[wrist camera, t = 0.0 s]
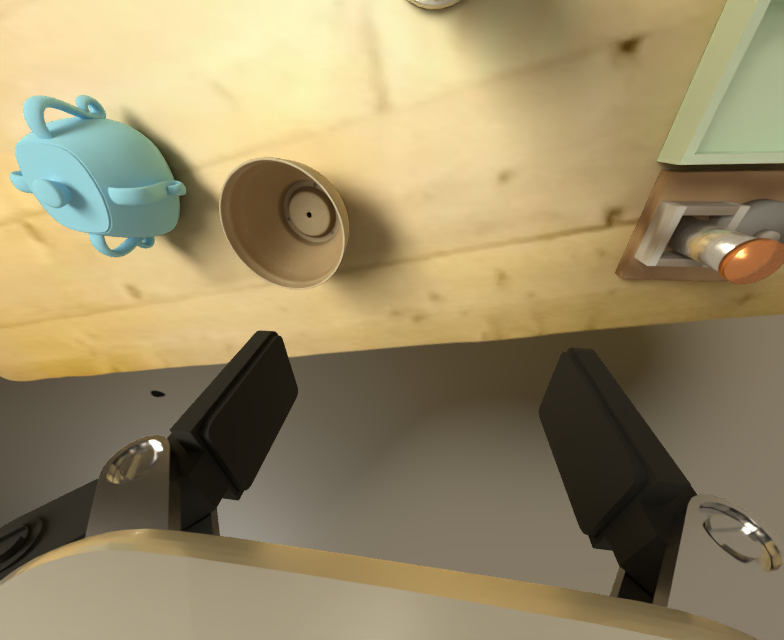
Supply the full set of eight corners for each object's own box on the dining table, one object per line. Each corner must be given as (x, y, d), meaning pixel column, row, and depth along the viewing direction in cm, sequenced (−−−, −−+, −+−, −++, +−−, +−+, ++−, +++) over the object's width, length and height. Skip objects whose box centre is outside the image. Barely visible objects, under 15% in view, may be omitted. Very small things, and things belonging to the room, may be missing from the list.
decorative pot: (71, 158, 44) (-52, 169, 33) (117, 85, 38) (-17, 67, 27) (162, 246, 51) (85, 278, 40) (214, 196, 44) (139, 219, 33)
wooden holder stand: (661, 170, 35) (694, 176, 31) (809, 168, 33) (868, 174, 29) (615, 272, 43) (636, 289, 39) (733, 275, 41) (769, 293, 37)
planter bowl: (370, 165, 39) (351, 176, 30) (356, 269, 48) (339, 301, 40) (258, 139, 39) (206, 142, 30) (266, 248, 48) (227, 275, 39)
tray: (728, -4, 27) (769, -23, 24) (904, -19, 25) (973, -40, 22) (656, 161, 35) (679, 164, 32) (786, 159, 33) (825, 162, 30)
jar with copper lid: (667, 213, 36) (745, 240, 27) (707, 213, 36) (800, 241, 27) (650, 247, 39) (715, 283, 30) (687, 248, 38) (765, 285, 29)
